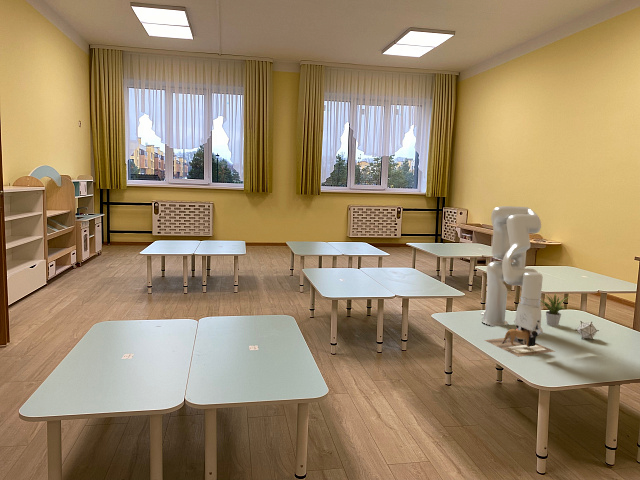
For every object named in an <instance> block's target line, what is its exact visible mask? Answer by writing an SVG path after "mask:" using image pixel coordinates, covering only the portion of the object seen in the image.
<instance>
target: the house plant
mask: <svg viewBox="0 0 640 480" xmlns="http://www.w3.org/2000/svg"><path fill="white" fill-rule="evenodd" d="M542 295H544V299H545V300H547V299H548V303H547V302H546V301H544V300H542V299H541V300H540V303H542V304H543V305H544V306H545V307H546V308H547V311H545V318H546V319H545V320H546V325H547V326H549V327H558V326H559V323H560V321H561V317H562V313H561V312H559V311H561V310H565V306H563V303H565V302H566V301H567V299H569V298H570V296H565V297H563V296H561V297H557V293H554V296H553V297H552V296H551V295H550V294H548V295H546V294H544V293H542ZM546 298H547V299H546ZM560 299H561V301H560ZM542 304H540V307H541V306H542Z"/></svg>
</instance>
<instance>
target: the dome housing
mask: <svg viewBox="0 0 640 480" xmlns="http://www.w3.org/2000/svg"><path fill="white" fill-rule="evenodd" d="M509 339H511V338H509ZM514 341H515V342H517V343H520V344H523V341H521V342H519V341H518V338H516V337H515V339H514ZM525 343H526V340H525Z"/></svg>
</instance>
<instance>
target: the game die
mask: <svg viewBox="0 0 640 480" xmlns="http://www.w3.org/2000/svg"><path fill="white" fill-rule="evenodd" d="M574 331H575V332H576V331H577V332H578V334H579V335H580V337H581V340H584V339H591V340H593V341H594V337H595V336H596V334H597V332H599V331H600V330H599V329H597V328H596V327H595V326H594V325H593V321H591V322H582V321H581V320H580V324H579V326H578V327H577V329H575V330H574Z"/></svg>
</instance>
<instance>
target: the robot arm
mask: <svg viewBox="0 0 640 480" xmlns="http://www.w3.org/2000/svg"><path fill="white" fill-rule="evenodd" d="M490 220H491V224H492V229H493V230H492V231H493V232H492V243H491V256H492V258H494V259H497V260H502V261H491V262H489V263H488V264H487V266H486V277H487V278H486V279H487V280H486V281H487V283H486V285H487V286H486V300H485V310H483V312H481V313H480V315H481V316H483V318H481V321H482V322H483V323H485V324H484V325H486V324H487V325H486V326H489V325H490V326H489V327H503V326H508V324H509V322H508V321H507V320H506V312H507V311H506V309H507V298H508V297H507V296H508V288H507V286H508V285H510V286H519V287H520V286H521V292H520V293H521V294H520V296H519V299H520V302H518V303H517V308H516V311H515V318H514V319H515V320H513V322H514V324H515V327H516V329H518V330H524V329H527V330H530V337H529V342H528V346H535V343H537V342H536V340H537V338H538V336H540V335H541V334H543V333H544V331H543V328H542V307H541V306H540V305H541V301H540V300H542V299H541V298H542V290H543V289H542V288H543V275H542V274H541V273H540V272H538V271H537V270H536V269H534V268H526V259H527V251H528V250H529V249H530V248H531V239H530V234H538V233H539V232H540V231H541V228H542V222H541V219H540V216H539V215H538V213H536V212H535V211H534V210H533V209H532V208H530V207H527V206H510V205H509V206H508V205H500V206H497V207H494V208H493V209H492V212H491V217H490ZM504 282H505V283H506V284H507V286H506V285H505V283H504ZM482 322H481V323H482ZM483 323H482V324H483ZM533 331H534V333H533ZM518 341H519V342H521V341H523V339H518Z"/></svg>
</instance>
